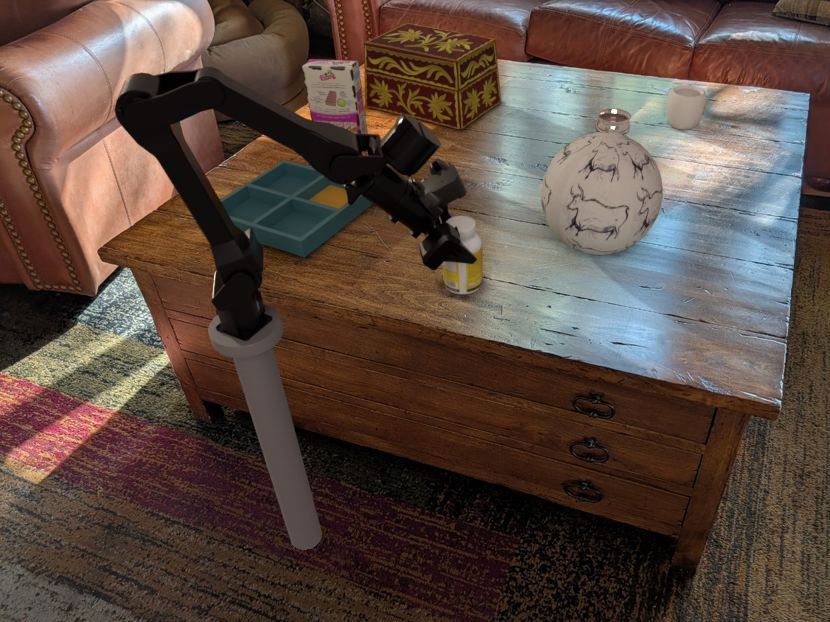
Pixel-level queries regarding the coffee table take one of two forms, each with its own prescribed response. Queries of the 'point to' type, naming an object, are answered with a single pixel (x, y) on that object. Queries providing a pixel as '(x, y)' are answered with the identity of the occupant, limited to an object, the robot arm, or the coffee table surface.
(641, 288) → the coffee table surface
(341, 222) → the tray
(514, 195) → the coffee table surface
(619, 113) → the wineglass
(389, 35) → the decorative box
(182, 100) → the robot arm
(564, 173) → the decorative sphere
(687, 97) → the mug
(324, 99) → the candy bar box
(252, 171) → the coffee table surface
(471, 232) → the pill bottle
